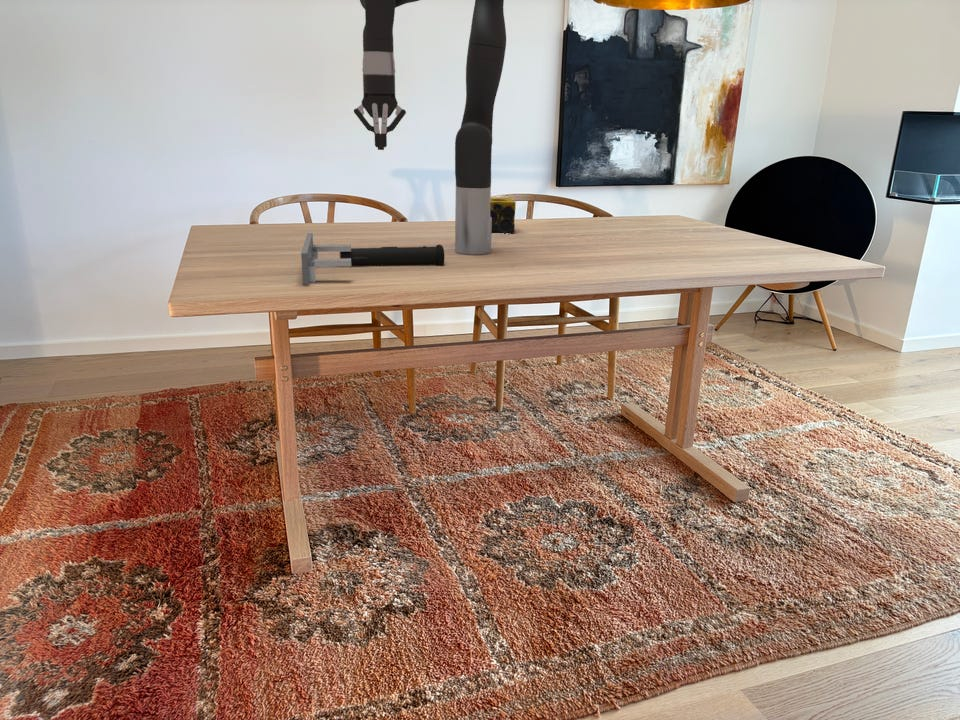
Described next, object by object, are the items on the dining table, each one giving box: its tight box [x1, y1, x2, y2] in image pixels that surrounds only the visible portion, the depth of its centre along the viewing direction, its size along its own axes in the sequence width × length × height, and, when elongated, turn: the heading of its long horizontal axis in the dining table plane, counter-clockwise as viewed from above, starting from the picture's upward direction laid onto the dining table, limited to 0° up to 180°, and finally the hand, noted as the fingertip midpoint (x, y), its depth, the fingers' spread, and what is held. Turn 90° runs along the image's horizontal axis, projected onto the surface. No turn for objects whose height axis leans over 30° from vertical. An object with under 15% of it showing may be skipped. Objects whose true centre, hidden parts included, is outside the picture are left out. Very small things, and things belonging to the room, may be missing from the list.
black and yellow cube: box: [490, 196, 517, 235], centre depth 227 cm, size 10×10×10 cm
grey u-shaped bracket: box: [308, 243, 352, 284], centre depth 166 cm, size 9×18×6 cm, turn 10°
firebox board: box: [300, 232, 314, 287], centre depth 165 cm, size 1×24×8 cm, turn 10°
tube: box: [339, 244, 445, 267], centre depth 177 cm, size 25×6×6 cm, turn 102°
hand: (380, 149), depth 178 cm, fingers closed
